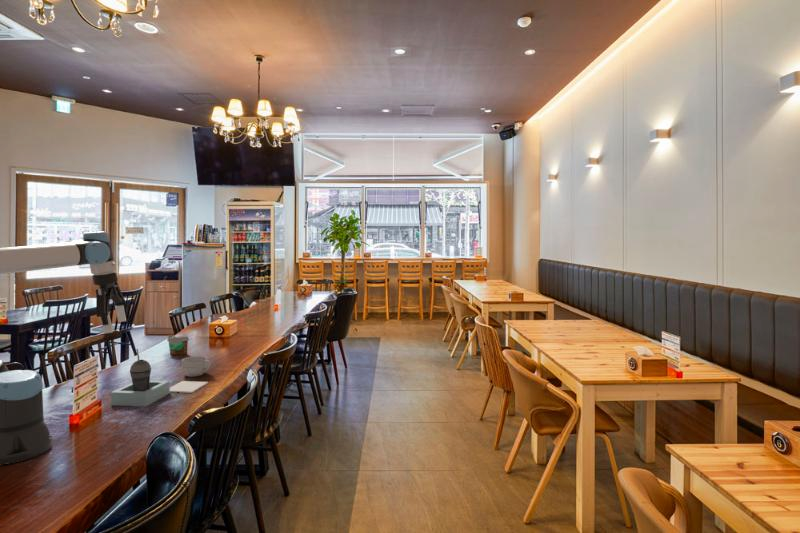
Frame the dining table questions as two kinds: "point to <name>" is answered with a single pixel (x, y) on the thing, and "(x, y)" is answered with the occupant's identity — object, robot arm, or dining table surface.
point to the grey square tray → (140, 394)
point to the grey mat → (187, 386)
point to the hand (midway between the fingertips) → (115, 326)
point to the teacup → (195, 365)
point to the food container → (178, 345)
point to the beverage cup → (140, 374)
